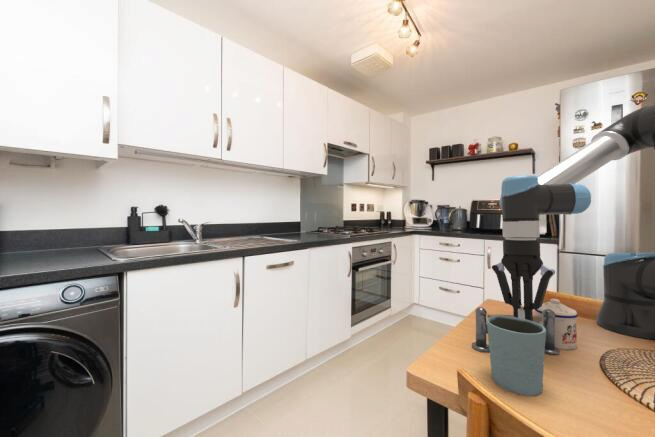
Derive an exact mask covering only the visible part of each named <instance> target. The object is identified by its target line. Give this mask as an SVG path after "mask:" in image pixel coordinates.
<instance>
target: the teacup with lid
mask: <svg viewBox="0 0 655 437" xmlns="http://www.w3.org/2000/svg"><path fill="white" fill-rule="evenodd" d="M545 309H550V310H552V311H553V312H554V313H555V347H556V348H558V349H559V350H567V351H569V350H575V349H577V346H578V340H577V338H578V335H577V334H578V333H577V331H578V327H577V326H578V324H577V323H578V322H577V321H578V320H577V319H578V316H579V315H578V312H577V311H576V310H575V309H573V308H571V307H568V306H567V305H565V304H563V303H561V300H559V299H558V298H550V301H547V302H543V304H542V306H541V307H540V308H539V309H534V315H537V316H540V317H542V321H541V325H542V326H543V315H542V311H543V310H545Z"/></svg>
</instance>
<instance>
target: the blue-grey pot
mask: <svg viewBox="0 0 655 437" xmlns="http://www.w3.org/2000/svg"><path fill="white" fill-rule="evenodd" d="M486 323H487V329H488V334H487V337H488V341H487V342H488V345H489V350H490V352H489V361H490V368H491V369H490V371H491V380H492V381H493V382H494V383H495V384H496V385H497V386H499V387H500V388H502V389H504V390H506V391H508V392H511V393H514V394H517V395H521V396H527V397H536V396H539V395H541V394H542V393H543V388H544V384H543V381H544V380H543V379H544V370H545V369H544V368H545V367H544V362H545V354H546V353H545V340H546V329H545V328H544V327H543V326H542V325H541V324H538V323H536V322H533V321H530V320H527V319H522V318H517V317H510V316H492V317H489V318H486Z"/></svg>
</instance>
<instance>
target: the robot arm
mask: <svg viewBox="0 0 655 437" xmlns="http://www.w3.org/2000/svg"><path fill="white" fill-rule="evenodd" d="M652 148H653V152H654V153H655V103H652V104H649V105H646V106H644V107H641V108H638V109H636V110H634V111H631V112H630V113H627V114H626V115H624V116H622V117H621V118H620V119H618V120H617V121H614V122H613V123H612V124H610V125H608V126H607V127H606V128H604V129H602V130H600V131H599V132H597V133H596V134H595V135H594V136H593V137H592V138H591V141H590V142H589V143H587V144H585V145H584V146H582V147H581V148H579V149H577V150H576V151H575V152H573V153H571V154H570V155H569V156H566V157H565V158H564V159H562V160H561V161H559V162H558V163H556V164H555V165H553V166H552V167H550V168H548V169H547V170H546V171H544V172H542V173H541V174H539V175H538V176H537V175H534V174H533V175H532V174H523V175H522V174H521V175H512V176H509V177H505V178H504V179H503V180H502V183H501V193H500V198H499V201H498V202H499V208H500V210H501V217H502V220H501V221H502V224H501V225H502V237H503V238H504V239H503V240H502V253H503V254H502V255H503V256H502V258H501V260H500V262H498V263H497V264H493V265H492V266H491V269H492V271H493V272H494V273H495V275H496V278H497V281H498V284H499V288H500V291H501V295H502V298H503V302H504V304H506V305H509V306H511V307H512V308H513V310H512V311H513V315H514V317H517V318H522V319H527V320H530V321H533V314H534V313H533V310H535V309H539V308H540V307H541V306H542V304H543V303H544V300H545V296H546V292H547V290H548V286H549V283H550V279H551V278H552V277H553V276H554V275H555V274H556V271H555V269H552V268H549V267H548V266H546V265H544V262H543V260H542V259H541V241H540V240H539V239H538V238H540V237H541V236H540V215H543V216H544V215H569V216H570V215H575V214H581V213H583V212H585V211H586V210H588V208H589V207H590V206H591V204H592V193H591V191H590V190H589V189H588V187H586V186H585V185H584V184H583V185H582V184H580V183H579V182H580V181H582V180H583V179H585V178H586V177H588V176H589V175H591V174H593V173H595V172H596V171H598V170H599V169H601V168H602V167H604V166H605V165H607V164H608V163H610V162H612V161H619V160H621V159H623V158H624V157H626V156H628V155H630V154H632V153H635V152H639V151H643V150H647V149H652ZM602 266H603V268H602V269H603V292H604V293H603V301H602V304H601V306H600V309H599V310H598V313H597V314H596V325H599V326H600V327H602V328H604V329H606V330H609V331H611V332H615V333H619V334H622V335H626V336H632V337H635V338H642V339H648V340H649V339H650V340H651V339H652V340H655V252H610V253H607V254H606V255H605V256H604V260H603V265H602ZM505 270H506V271H507V272H508V273H509V274H510V280H511V288H510V286H509V281H508V279H507V275H506V273H505ZM539 271H540V276H541V278H540V281H539V283H538V287H537V291H536V294H535V297H533V296H534V294H533V293H534V290H533V286H534V285H533V281H534V276H535V275H536V274H537V273H538V272H539ZM521 279H522V281H523V282H521ZM521 283H523V303H522V285H521ZM533 298H534V300H533ZM522 305H523V306H522Z"/></svg>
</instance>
